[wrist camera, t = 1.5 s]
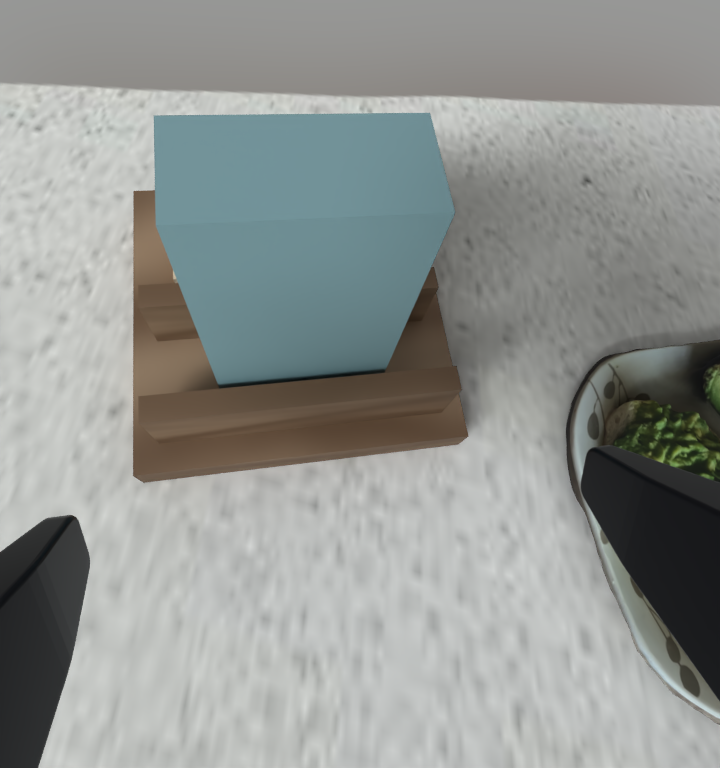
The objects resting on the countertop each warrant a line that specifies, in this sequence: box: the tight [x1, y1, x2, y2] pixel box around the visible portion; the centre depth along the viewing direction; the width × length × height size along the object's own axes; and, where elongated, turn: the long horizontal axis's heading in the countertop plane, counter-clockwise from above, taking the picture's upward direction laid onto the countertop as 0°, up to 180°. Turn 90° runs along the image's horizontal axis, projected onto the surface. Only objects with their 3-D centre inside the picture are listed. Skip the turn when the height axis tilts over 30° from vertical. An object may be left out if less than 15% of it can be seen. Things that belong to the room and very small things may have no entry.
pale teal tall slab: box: [154, 113, 455, 389], centre depth 17 cm, size 3×6×12 cm, turn 98°
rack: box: [133, 190, 468, 482], centre depth 23 cm, size 14×14×4 cm
